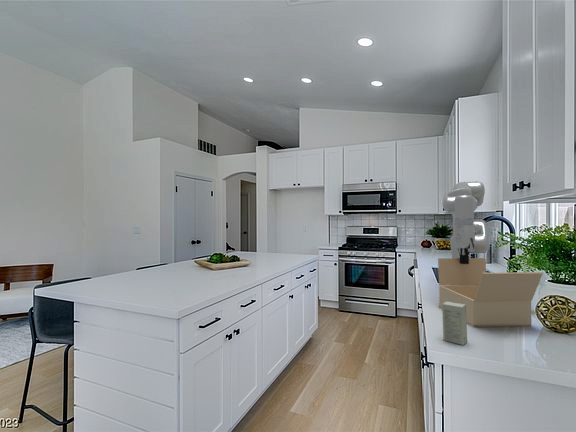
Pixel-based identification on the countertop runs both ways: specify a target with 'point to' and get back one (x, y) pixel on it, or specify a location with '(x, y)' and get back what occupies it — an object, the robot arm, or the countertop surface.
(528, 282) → the outer flap
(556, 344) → the countertop surface
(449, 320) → the skincare box
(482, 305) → the carton
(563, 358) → the countertop surface
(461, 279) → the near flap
